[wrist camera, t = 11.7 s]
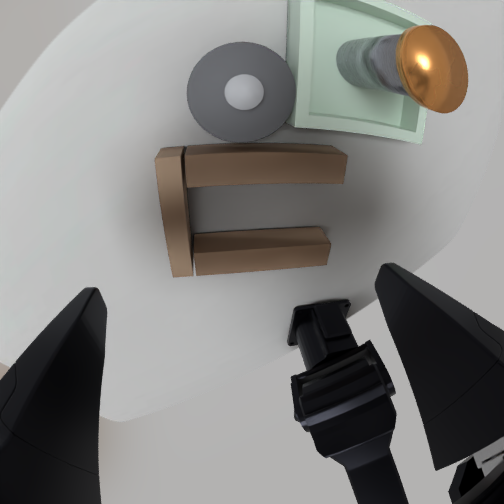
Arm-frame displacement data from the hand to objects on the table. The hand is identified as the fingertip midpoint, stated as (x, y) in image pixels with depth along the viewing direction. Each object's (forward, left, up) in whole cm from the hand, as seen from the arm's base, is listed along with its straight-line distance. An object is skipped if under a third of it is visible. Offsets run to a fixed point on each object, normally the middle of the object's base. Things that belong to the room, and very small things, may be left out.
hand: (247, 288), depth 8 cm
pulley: (+5, -1, -12) cm, 13 cm away
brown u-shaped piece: (-3, -2, -12) cm, 13 cm away
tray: (+8, -9, -12) cm, 17 cm away
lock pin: (+8, -9, -11) cm, 17 cm away
